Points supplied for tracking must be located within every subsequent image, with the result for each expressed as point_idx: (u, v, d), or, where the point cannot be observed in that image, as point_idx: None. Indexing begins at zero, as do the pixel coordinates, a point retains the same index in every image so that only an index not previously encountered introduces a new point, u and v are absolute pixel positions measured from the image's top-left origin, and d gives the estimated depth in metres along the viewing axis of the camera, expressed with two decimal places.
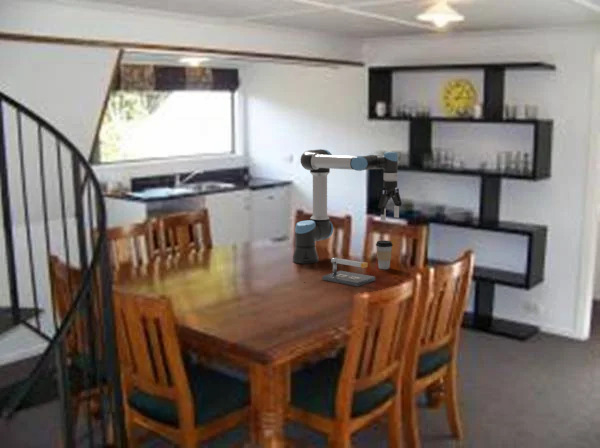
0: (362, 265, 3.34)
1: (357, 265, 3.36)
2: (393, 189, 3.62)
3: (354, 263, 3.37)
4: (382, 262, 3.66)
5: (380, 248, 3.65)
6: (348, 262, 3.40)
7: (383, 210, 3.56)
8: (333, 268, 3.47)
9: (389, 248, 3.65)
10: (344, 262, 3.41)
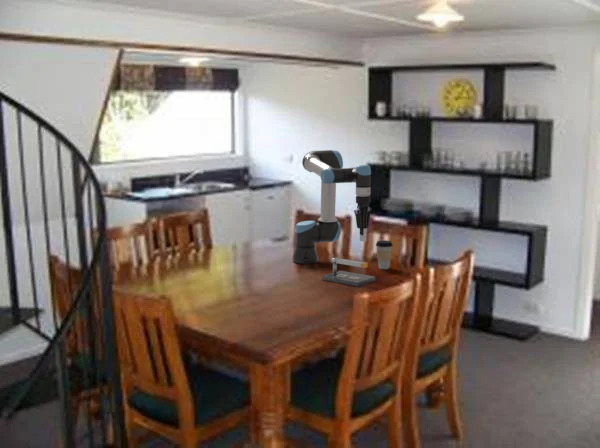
0: (362, 265, 3.34)
1: (357, 265, 3.36)
2: None
3: (354, 263, 3.37)
4: (382, 262, 3.66)
5: (380, 248, 3.65)
6: (348, 262, 3.40)
7: (362, 230, 3.39)
8: (333, 268, 3.47)
9: (389, 248, 3.65)
10: (344, 262, 3.41)
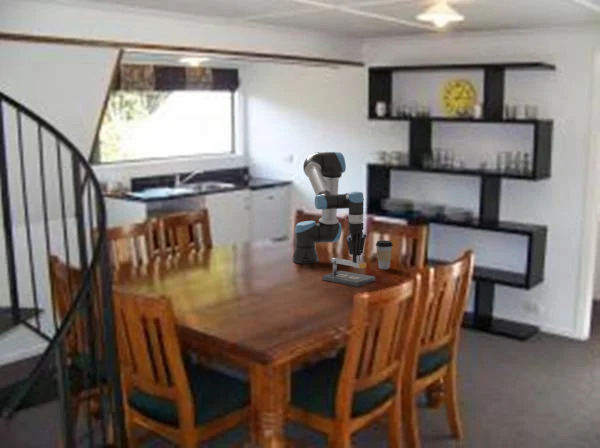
0: (360, 265, 3.33)
1: (355, 265, 3.35)
2: None
3: (353, 263, 3.37)
4: (382, 262, 3.66)
5: (380, 248, 3.65)
6: (347, 262, 3.39)
7: (355, 257, 3.38)
8: (333, 268, 3.47)
9: (389, 248, 3.65)
10: (343, 262, 3.41)
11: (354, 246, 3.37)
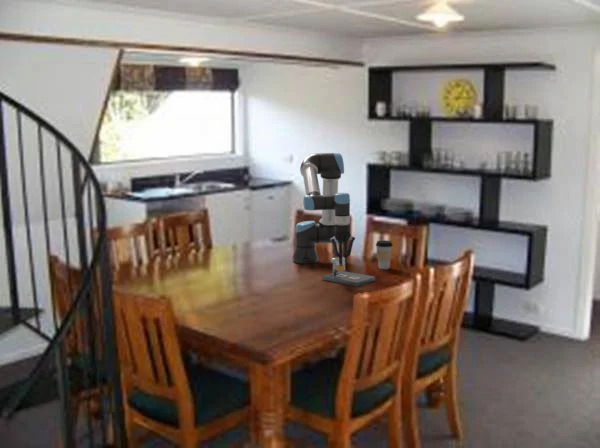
0: (336, 268, 3.29)
1: (336, 267, 3.32)
2: (347, 232, 3.32)
3: (335, 265, 3.33)
4: (382, 262, 3.66)
5: (380, 248, 3.65)
6: (334, 263, 3.37)
7: (340, 259, 3.33)
8: (333, 268, 3.47)
9: (389, 248, 3.65)
10: (334, 263, 3.40)
11: (339, 248, 3.32)
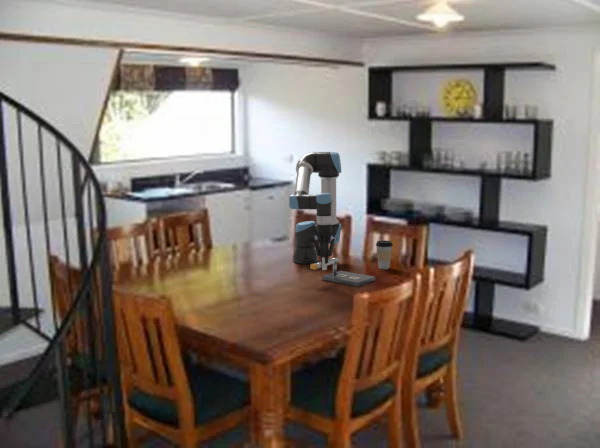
0: None
1: None
2: (327, 232, 3.31)
3: None
4: (382, 262, 3.66)
5: (380, 248, 3.65)
6: None
7: (321, 258, 3.35)
8: (333, 268, 3.47)
9: (389, 248, 3.65)
10: None
11: None
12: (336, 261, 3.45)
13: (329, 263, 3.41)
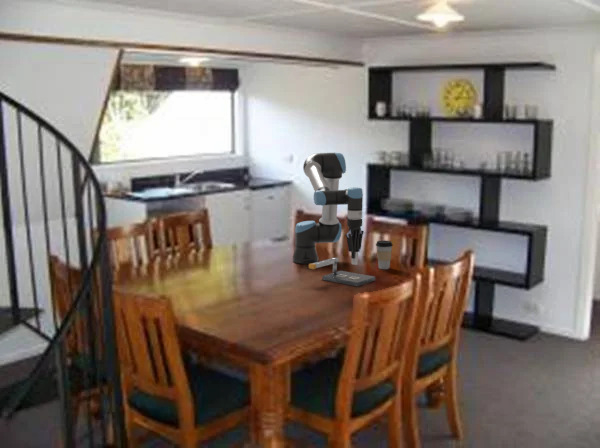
0: None
1: None
2: None
3: None
4: (381, 262, 3.66)
5: (380, 248, 3.65)
6: None
7: (354, 254, 3.34)
8: (333, 268, 3.47)
9: (389, 248, 3.65)
10: None
11: (353, 242, 3.33)
12: (336, 261, 3.45)
13: (328, 263, 3.41)
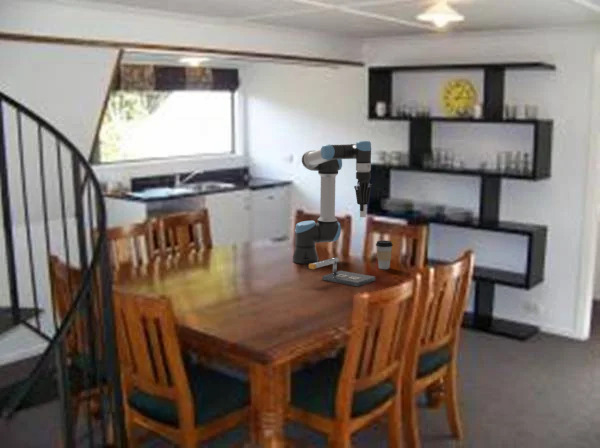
0: None
1: None
2: (367, 179, 3.40)
3: None
4: (382, 262, 3.66)
5: (380, 248, 3.65)
6: None
7: (362, 206, 3.39)
8: (333, 268, 3.47)
9: (389, 248, 3.65)
10: None
11: (362, 195, 3.38)
12: (336, 261, 3.45)
13: (328, 263, 3.41)
